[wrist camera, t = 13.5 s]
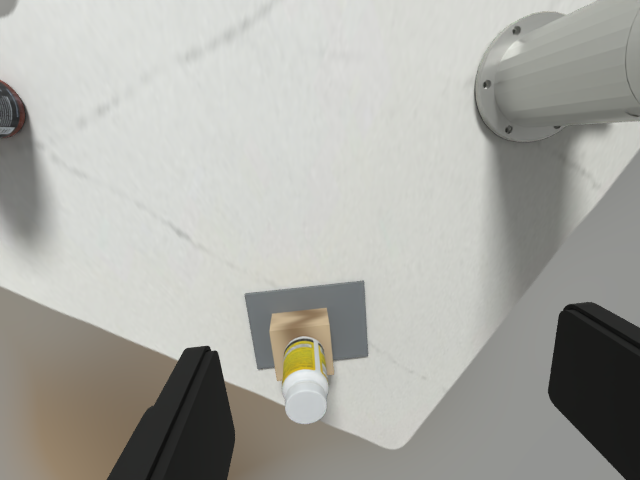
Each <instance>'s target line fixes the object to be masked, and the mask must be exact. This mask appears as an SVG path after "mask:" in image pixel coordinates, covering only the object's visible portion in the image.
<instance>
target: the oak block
mask: <svg viewBox="0 0 640 480" xmlns="http://www.w3.org/2000/svg"><path fill="white" fill-rule="evenodd" d="M269 333H270V339H271V345H272V352H273V358H274V365H275V371H276V378H277V381H282V380H283V364H284V352H285V348H286V346H287V345H288V344H289V342H290V341H292V340H293V339H295V338H298V337H302V336H307V337H311V338H314V339H316V340H317V341H319V342H320V343H321V345H322V346H323V349H324V354H325V362H326V369H327V375H333V374H334V368H333V357H332V346H331V335H330V325H329V319H328V313H327V308H319V309H310V310H301V311H292V312H283V313H274V314H272V317H271V324H270V330H269Z"/></svg>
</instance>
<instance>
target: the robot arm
mask: <svg viewBox="0 0 640 480" xmlns="http://www.w3.org/2000/svg"><path fill="white" fill-rule="evenodd" d="M483 84H484V85H485V86H484V87H483ZM475 92H476V102H477V106H478V110H479V113H480V115H481V117H482V119H483V121H484V122H485V123H486V125H487V126H488V127H489V128H490V130H492V131H493V132H494V133H496V134H497V135H498V136H500V137H502V138H504V139H507V140H511V141H515V142H532V141H538V140H542V139H545V138H548V137H550V136H552V135H554V134H556V133H557V132H559V131H560V130H562V129H563V128H564V127H566V126H567V125H581V124H598V123H616V122H633V121H640V0H597V1H595V2H593V3H591V4H589V5H587V6H584V7H582V8H580V9H578V10H576V11H574V12H572V13H570V14H567V15H566V14H562V13H558V12H550V11H543V12H538V13H533V14H530V15H528V16H525V17H523V18H521V19H519V20H517V21H516V22H514V23H512V24H510V25H509V26H508V27H507V28H505V29H504V30H503V31H502V32H500V34H499V35H498V36H497V37H496V38H495V39H494V40H493V41H492V43H491V44H490V46H489V47H488V49H487V50H486V52H485V54H484V56H483V58H482V61H481V63H480V65H479V69H478V73H477V77H476V87H475ZM505 128H506V131H505ZM548 394H549V397H550V400H551V401H552V403H553V404H554V406H555V407H556V408H557V409H558V410H559V411H560V412H561V413H562V414H563V415H564V416H565V417H566V418H567V419H568V420H569V421H570V422H571V423H572V424H573V425H574V426H575V427H576V428H577V429H578V430H579V431H580V432H581V434H582V435H583V436H584V437H585V438H586V439H587V440H588V441H589V442H590V443H591V444H592V445H593V446H594V447H595V448H596V449H597V450H598V451H599V452H600V453H601V454H602V455H603V456H604V457H605V458H606V459H607V460H608V462H609V463H611V465H612V466H613V467H614V468H615V469H616V470H617V471H618V472H619V473H620V474H621V475H622V476H623V477H624V478H625V479H626V480H640V328H639V327H637V326H635V325H634V324H632V323H630V322H628V321H626V320H625V319H623V318H621V317H619V316H617V315H615V314H613V313H612V312H610V311H608V310H606V309H604V308H603V307H601V306H599V305H597V304H595V303H592V302H586V303H577V304H569V305H567V306H566V307H565V308H564V309H563V311H561V313H560V314H559V319H558V325H557V332H556V339H555V347H554V353H553V360H552V367H551V374H550V381H549V387H548ZM234 443H235V430H234V425H233V420H232V415H231V411H230V406H229V402H228V397H227V392H226V388H225V383H224V378H223V373H222V369H221V364H220V360H219V355H218V352H217V351H211V349H210V347H209V346H201V347H193V348H186V349H185V350H184V351H183V353H182V355H181V357H180V359H179V361H178V362H177V364H176V366H175V368H174V370H173V372H172V374H171V375H170V377H169V379H168V381H167V383H166V384H165V386H164V388H163V390H162V392H161V394H160V395H159V397H158V399H157V401H156V403H155V405H154V406H151V407H150V408H149V409H148V410H147V411H146V412H145V414H144V415H143V417H142V418H141V420H140V422H139V424H138V425H137V427H136V429H135V431H134V432H133V434H132V436H131V438H130V440H129V441H128V443H127V445H126V447H125V448H124V450H123V452H122V454H121V456H120V457H119V459H118V461H117V463H116V464H115V466H114V468H113V470H112V472H111V473H110V475H109V477H108V478H107V480H227V477H228V472H229V467H230V463H231V458H232V453H233V448H234Z"/></svg>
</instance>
